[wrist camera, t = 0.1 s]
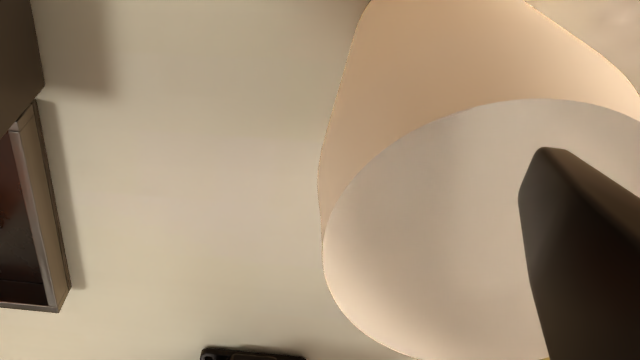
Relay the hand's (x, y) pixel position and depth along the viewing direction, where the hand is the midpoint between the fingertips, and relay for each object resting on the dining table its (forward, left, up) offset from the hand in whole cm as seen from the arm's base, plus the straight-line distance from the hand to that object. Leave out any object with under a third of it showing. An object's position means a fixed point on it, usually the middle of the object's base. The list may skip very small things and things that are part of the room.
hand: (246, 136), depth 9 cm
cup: (-4, -6, -15) cm, 17 cm away
